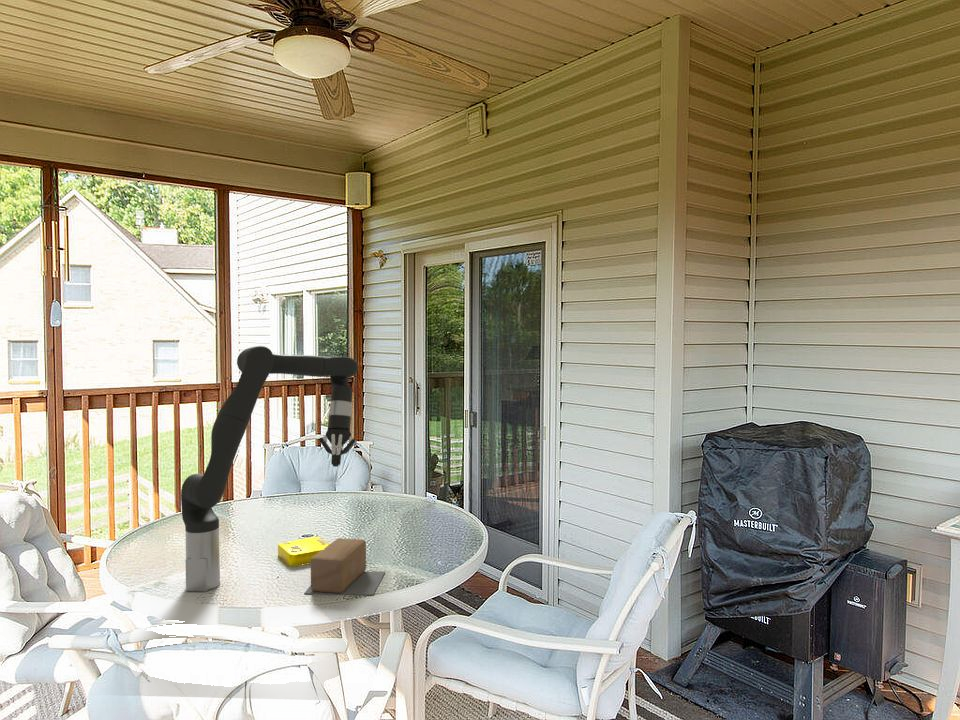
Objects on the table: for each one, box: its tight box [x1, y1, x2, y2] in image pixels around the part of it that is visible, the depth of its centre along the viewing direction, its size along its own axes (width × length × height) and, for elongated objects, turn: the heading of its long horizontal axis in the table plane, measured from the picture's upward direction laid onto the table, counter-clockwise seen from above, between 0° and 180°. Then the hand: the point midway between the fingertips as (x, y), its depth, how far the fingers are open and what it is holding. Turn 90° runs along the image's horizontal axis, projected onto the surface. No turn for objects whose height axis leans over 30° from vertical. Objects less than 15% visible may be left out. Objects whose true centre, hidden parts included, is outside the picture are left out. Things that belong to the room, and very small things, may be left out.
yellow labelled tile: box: [277, 536, 330, 567], centre depth 222 cm, size 15×15×5 cm
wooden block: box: [310, 537, 367, 593], centre depth 199 cm, size 10×10×20 cm
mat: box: [303, 571, 386, 596], centre depth 198 cm, size 18×20×1 cm
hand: (335, 466), depth 221 cm, fingers closed
